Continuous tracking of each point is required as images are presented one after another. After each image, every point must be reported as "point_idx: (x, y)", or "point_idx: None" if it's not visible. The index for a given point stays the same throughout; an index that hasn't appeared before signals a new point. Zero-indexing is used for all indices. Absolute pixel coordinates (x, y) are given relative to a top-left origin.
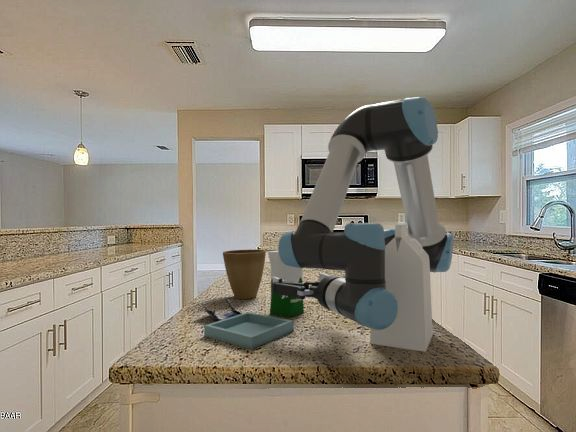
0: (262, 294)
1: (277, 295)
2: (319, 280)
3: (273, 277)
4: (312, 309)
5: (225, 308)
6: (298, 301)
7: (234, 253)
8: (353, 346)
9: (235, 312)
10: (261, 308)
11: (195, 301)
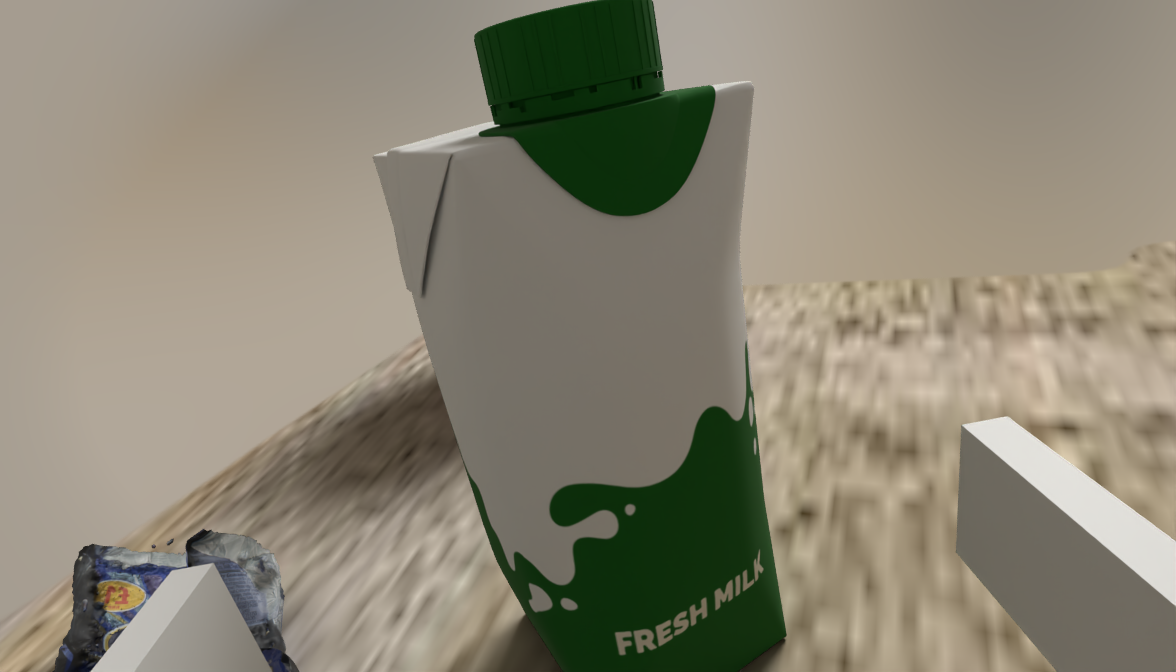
0: None
1: (503, 561)
2: (964, 530)
3: (149, 603)
4: (869, 568)
5: (368, 481)
6: (709, 615)
7: None
8: None
9: None
10: None
11: (336, 394)
